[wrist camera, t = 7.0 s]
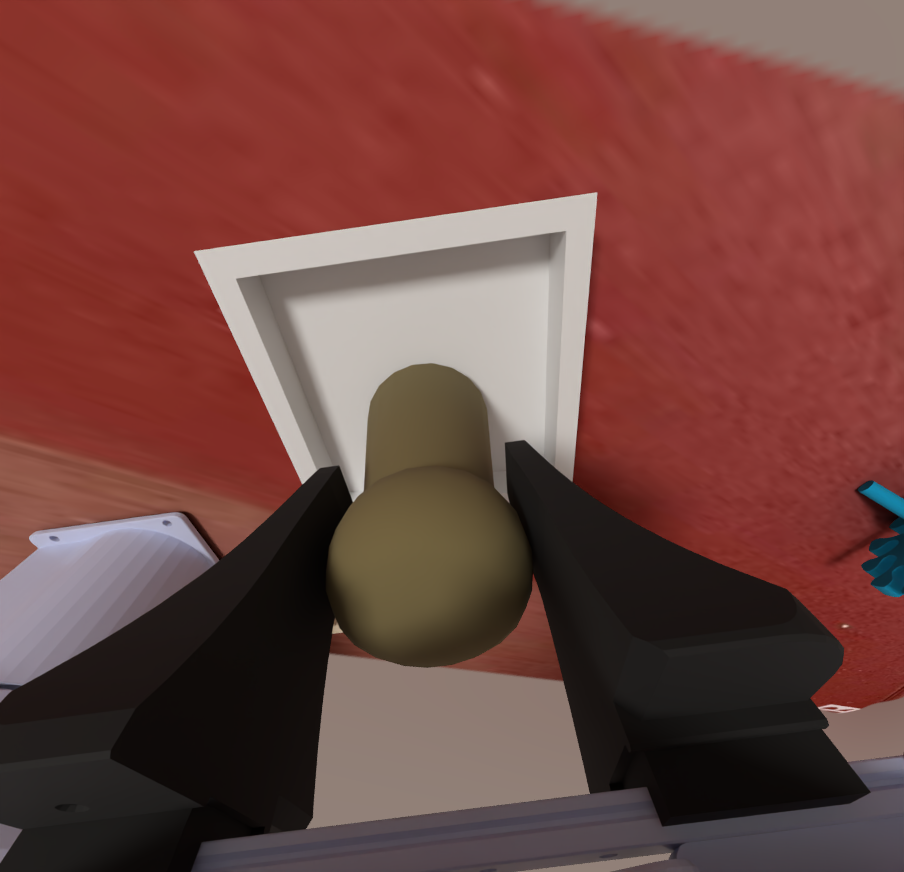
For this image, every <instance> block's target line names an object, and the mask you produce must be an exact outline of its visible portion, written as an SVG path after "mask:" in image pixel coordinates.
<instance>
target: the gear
mask: <svg viewBox="0 0 904 872" xmlns="http://www.w3.org/2000/svg"><path fill="white" fill-rule="evenodd" d="M858 491H859V492H860V493H862V494H864V495H865V496H867V497H868V498H870V499H872V500H873V501H875V502H877V503H878V504H880V505H881V506H883V507H885V508H886V509H888V510H889V511H891V512H893V513H894V514H896V515H898V516H899V518H897V519H896V520H895V521H894V522H893V523H892V524H891V525H890V526H889V528H891V529H892V530H894V531H895V532H897V533H899V534H900V535H897V536H894V537H890V538H879V539H876V540H874V541H872V542H871V544H870V546H869V551H870V552H872V553H873V554H875V555H876V556H878V557H877V558H875V559H871V560H868V561H866V562H864V563H863V564H862V565H861V566H862V568H863V570H864V571H866V572H867V573H869V574H870V575H871V576H873V577H874V578H875V579H874V580H873V581H872V582H871V585H872V586H873V587H875V588H876V589H878V590H879V591H881V592H882V593H883V594H885V595H888V596H892V597H900V596H902V595H903V594H904V499H903V498H901V497H900V496H898V495H896V494H895V493H893V492H891V491H889V490H888V489H886V488H884V487H883V486H881V485H879V484H878V483H876V482H874V481H868V482H866V483H865V484H863V485H862V486H860V487H859V488H858Z"/></svg>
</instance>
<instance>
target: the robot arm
mask: <svg viewBox="0 0 904 872" xmlns="http://www.w3.org/2000/svg"><path fill="white" fill-rule="evenodd" d="M505 459H506V480H507V494H508V498H509V503H510V505H511V506H512V507H513V508H514V509H515V510H516V511H517V514H518V516H519V519H520V521H521V524H522V526H523V529H524V531H525V534H526V536H527V539H528V541H529V544H530V546H531V549H532V559H533V574H534V576H535V579H536V582H537V585H538V588H539V591H540V594H541V597H542V600H543V604H544V608H545V611H546V615H547V619H548V623H549V626H550V630H551V634H552V638H553V642H554V645H555V649H556V653H557V657H558V661H559V665H560V669H561V673H562V677H563V681H564V685H565V689H566V693H567V697H568V701H569V705H570V709H571V713H572V718H573V722H574V726H575V730H576V735H577V739H578V743H579V748H580V752H581V756H582V760H583V765H584V769H585V773H586V778H587V783H588V787H589V791H590V794H586V795H578V796H570V797H562V798H554V799H545V800H537V801H530V802H521V803H513V804H505V805H497V806H489V807H481V808H473V809H465V810H457V811H449V812H440V813H432V814H425V815H417V816H408V817H400V818H392V819H385V820H376V821H368V822H360V823H353V824H344V825H336V826H328V827H320V828H311V829H306V828H307V826H308V825H309V823H310V821H311V820H312V818H313V805H314V790H315V778H316V766H317V753H318V742H319V733H320V723H321V713H322V704H323V695H324V688H325V680H326V672H327V664H328V657H329V651H330V644H331V638H332V631H333V625H334V620H335V616H334V614H333V611H332V608H331V605H330V602H329V599H328V596H327V593H326V567H327V559H328V551H329V545H330V543H331V540H332V537H333V535H334V532H335V530H336V528H337V526H338V525H339V523H340V521H341V520H342V518H343V516H344V515H345V513H346V511H347V510H348V508H349V507H350V505H351V504H352V503H353V501H352V498H351V495H350V493H349V490H348V487H347V485H346V482H345V479H344V477H343V474H342V471H341V469H340V466H339V465H338V466H331V467H323V468H319V469H318V470H317V471H316V472H315V473H314V474H313V475H312V476H311V477H310V478H309V479H308V480H307V481H306V482H305V483H304V484H303V485H302V486H301V487H300V488H299V489H298V490H297V491H296V492H295V493H294V494H293V495H292V496H291V497H290V498H289V499H288V500H287V501H286V502H285V503H283V504H282V505H281V506H280V507H279V508H278V509H277V510H276V511H275V512H274V513H273V514H272V515H271V516H270V517H269V518H268V519H267V520H266V521H265V522H264V523H262V524H261V525H260V526H259V527H258V528H257V529H256V530H255V531H254V532H253V533H251V534H250V535H249V536H248V537H247V538H246V539H245V540H244V541H243V542H241V543H240V544H239V545H238V546H237V547H236V548H234V549H233V550H232V551H231V552H230V553H228V554H227V555H226V556H225V557H223V558H222V559H221V560H219V559H218V558H217V556H216V555H215V554H214V552H213V551H212V550H211V548H210V547H209V546H208V545H207V543H206V542H205V541H204V539H203V538H202V537H201V535H200V534H199V533H198V531H197V530H196V529H195V527H194V526H193V525H192V523H191V522H190V521H189V519H188V518H187V517H186V516H185V515H184V514H182V513H179V512H173V513H165V514H158V515H151V516H143V517H136V518H129V519H121V520H114V521H107V522H100V523H92V524H85V525H78V526H70V527H63V528H56V529H48V530H41V531H36V532H34V533H33V534H32V535H30V537H29V539H30V541H31V542H32V543H33V544H34V545H35V546H37V547H38V549H37V550H36V551H35V552H34V553H32V554H31V555H30V556H29V557H28V558H26V559H25V560H24V561H23V562H22V563H20V564H19V565H18V566H17V567H16V568H14V569H13V570H12V571H11V572H10V573H9V574H7V575H6V576H5V577H4V578H3V579H1V580H0V872H516V871H524V870H533V869H540V868H549V867H557V866H566V865H574V864H582V863H590V862H599V861H607V860H615V859H623V858H631V857H639V856H648V855H656V854H664V853H671V855H670V857H669V860H664V861H659V862H653V863H648V864H644V865H639V866H635V867H630V868H626V869H622V870H617V871H612V872H904V755H900V756H893V757H885V758H876V759H868V760H860V761H852V762H847V761H846V760H845V758H844V757H843V756H842V754H841V753H840V752H839V751H838V749H837V748H836V747H835V746H834V744H833V743H832V742H831V740H830V739H829V738H828V737H827V735H826V734H825V733H824V731H823V730H822V729H826V728H827V727H828V726H829V724H828V721H827V719H826V717H825V716H824V715H823V714H822V712H821V711H820V710H819V709H818V707H817V706H816V705H815V704H814V702H813V701H812V700H811V699H810V698H811V697H812V696H813V695H814V694H815V693H816V692H817V691H818V690H819V689H820V688H821V687H822V686H823V685H824V684H825V683H826V682H827V681H828V680H829V679H830V678H831V677H832V676H833V675H834V674H835V673H836V671H837V670H838V669H839V667H840V666H841V665H842V662H843V656H844V648H843V646H842V645H841V644H840V642H839V641H838V640H837V639H836V638H835V637H834V636H833V635H832V634H831V633H830V632H829V631H828V629H827V628H826V627H825V626H824V625H823V624H822V623H821V622H820V621H819V620H818V619H817V618H816V617H815V616H814V615H813V614H812V613H811V612H810V611H809V610H808V609H807V608H806V607H805V606H804V605H803V604H802V603H801V602H800V601H799V600H798V599H797V598H796V597H795V596H793V595H792V594H791V593H790V592H789V591H788V590H787V589H785V588H782V587H779V586H777V585H774V584H772V583H769V582H766V581H764V580H761V579H758V578H756V577H753V576H750V575H748V574H745V573H743V572H740V571H737V570H735V569H732V568H729V567H727V566H724V565H722V564H719V563H717V562H715V561H712V560H710V559H708V558H706V557H703V556H701V555H699V554H696V553H694V552H692V551H690V550H687V549H685V548H683V547H681V546H679V545H677V544H675V543H672V542H670V541H668V540H666V539H664V538H662V537H660V536H658V535H656V534H655V533H653V532H651V531H649V530H647V529H645V528H643V527H641V526H639V525H637V524H636V523H634V522H632V521H630V520H628V519H627V518H625V517H623V516H622V515H620V514H618V513H617V512H615V511H614V510H612V509H610V508H609V507H607V506H605V505H604V504H602V503H601V502H599V501H598V500H596V499H595V498H593V497H592V496H591V495H589V494H588V493H586V492H585V491H584V490H582V489H581V488H580V487H578V486H577V485H576V484H574V483H573V482H572V481H571V480H569V479H568V478H567V477H566V476H565V475H563V474H562V473H561V472H560V471H558V470H557V469H556V468H555V467H554V466H553V465H551V464H550V463H549V462H548V461H547V460H546V459H545V458H544V457H543V456H541V455H540V454H539V453H538V452H537V451H536V450H535V449H534V448H533V447H532V446H531V445H530V444H529V443H528V442H526V441H525V440H520V441H513V442H505Z"/></svg>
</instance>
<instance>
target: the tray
mask: <svg viewBox="0 0 904 872" xmlns="http://www.w3.org/2000/svg"><path fill="white" fill-rule="evenodd" d="M596 202H597V193H590V194H583V195H576V196H570V197H563V198H556V199H549V200H542V201H535V202H529V203H522V204H515V205H508V206H501V207H494V208H487V209H481V210H474V211H467V212H460V213H453V214H446V215H440V216H433V217H426V218H419V219H412V220H405V221H399V222H392V223H385V224H378V225H371V226H364V227H357V228H351V229H344V230H337V231H330V232H323V233H316V234H310V235H303V236H296V237H289V238H282V239H275V240H268V241H262V242H255V243H248V244H241V245H234V246H227V247H221V248H214V249H207V250H200V251H194V253H195V255H196V257H197V259H198V261H199V263H200V266H201V268H202V270H203V272H204V274H205V276H206V278H207V281H208V283H209V285H210V287H211V289H212V291H213V294H214V296H215V298H216V300H217V302H218V304H219V306H220V309H221V311H222V313H223V315H224V317H225V319H226V321H227V324H228V326H229V328H230V330H231V332H232V334H233V336H234V339H235V341H236V343H237V345H238V347H239V349H240V351H241V354H242V356H243V358H244V360H245V362H246V364H247V366H248V369H249V371H250V373H251V375H252V377H253V379H254V381H255V384H256V386H257V388H258V390H259V392H260V394H261V396H262V399H263V401H264V403H265V405H266V407H267V409H268V411H269V414H270V416H271V418H272V420H273V422H274V424H275V426H276V429H277V431H278V433H279V435H280V437H281V439H282V441H283V444H284V446H285V448H286V450H287V452H288V454H289V457H290V459H291V461H292V463H293V465H294V467H295V469H296V472H297V474H298V476H299V478H300V480H301V482H302V484H304V483H305V482H306V481H307V480H308V479H309V478H310V477H311V476H312V475H313V474H314V473H315V472H316V471H317V470H318V469H319V468H323V467H331V466H338V465H339V466H340V469H341V471H342V474H343V477H344V479H345V482H346V485H347V487H348V490H349V493H350V495H351V498H352V501H353V502H354V501H355V499H356V498H357V497H358V496H359V495H360V494H361V493H363V492H364V477H365V458H366V440H367V421H368V413H369V407H370V401H371V400H372V398H373V396H374V394H375V392H376V390H377V389H378V387H379V385H380V384H381V383H383V382H384V381H385V380H386V379H387V378H388V377H389V376H390V375H392V374H393V373H394V372H396V371H399V370H401V369H403V368H406V367H408V366H411V365H416V364H428V363H434V364H438V365H443V366H447V367H452V368H453V369H455V370H457V371H458V372H460V373H462V374H463V375H465V376H467V377H468V378H469V379H470V380H471V381H472V382H473V383H474V385H475V386H476V387H477V388H478V389H479V390H480V392H481V394H482V397H483V399H484V402H485V404H486V407H487V413H488V424H489V435H490V446H491V457H492V468H493V479H494V488H495V489H496V490H497V491H498V492H499V493H500V494H501V495H502V496H503V497H504V498H505V499H506V500H507V501H508V502H509V498H508V494H507V480H506V459H505V442H513V441H520V440H525V441H526V442H528V443H529V444H530V445H531V446H532V447H533V448H534V449H535V450H536V451H537V452H538V453H539V454H540V455H541V456H543V457H544V458H545V459H546V460H547V461H548V462H549V463H550V464H551V465H553V466H554V467H555V468H556V469H557V470H558V471H560V472H561V473H562V474H563V475H565V476H566V477H567V478H568V479H569V480H571V481H572V482H573V470H574V459H575V447H576V435H577V424H578V412H579V400H580V389H581V377H582V365H583V354H584V342H585V331H586V319H587V307H588V296H589V284H590V272H591V261H592V249H593V237H594V226H595V214H596ZM509 504H510V503H509Z"/></svg>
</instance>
